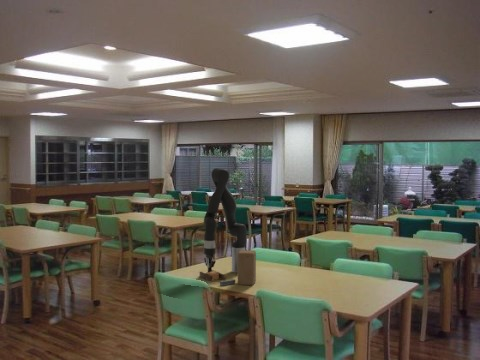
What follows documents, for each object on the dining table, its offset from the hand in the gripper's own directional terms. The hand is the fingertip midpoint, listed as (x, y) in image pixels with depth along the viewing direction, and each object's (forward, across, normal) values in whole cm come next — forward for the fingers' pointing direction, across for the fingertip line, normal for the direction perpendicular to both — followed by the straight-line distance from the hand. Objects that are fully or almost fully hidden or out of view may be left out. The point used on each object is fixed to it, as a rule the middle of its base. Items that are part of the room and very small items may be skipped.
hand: (209, 273), depth 314 cm
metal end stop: (+2, -24, -1) cm, 24 cm away
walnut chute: (+2, -3, 0) cm, 4 cm away
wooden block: (+3, -26, -13) cm, 29 cm away
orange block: (+3, -5, 0) cm, 5 cm away
